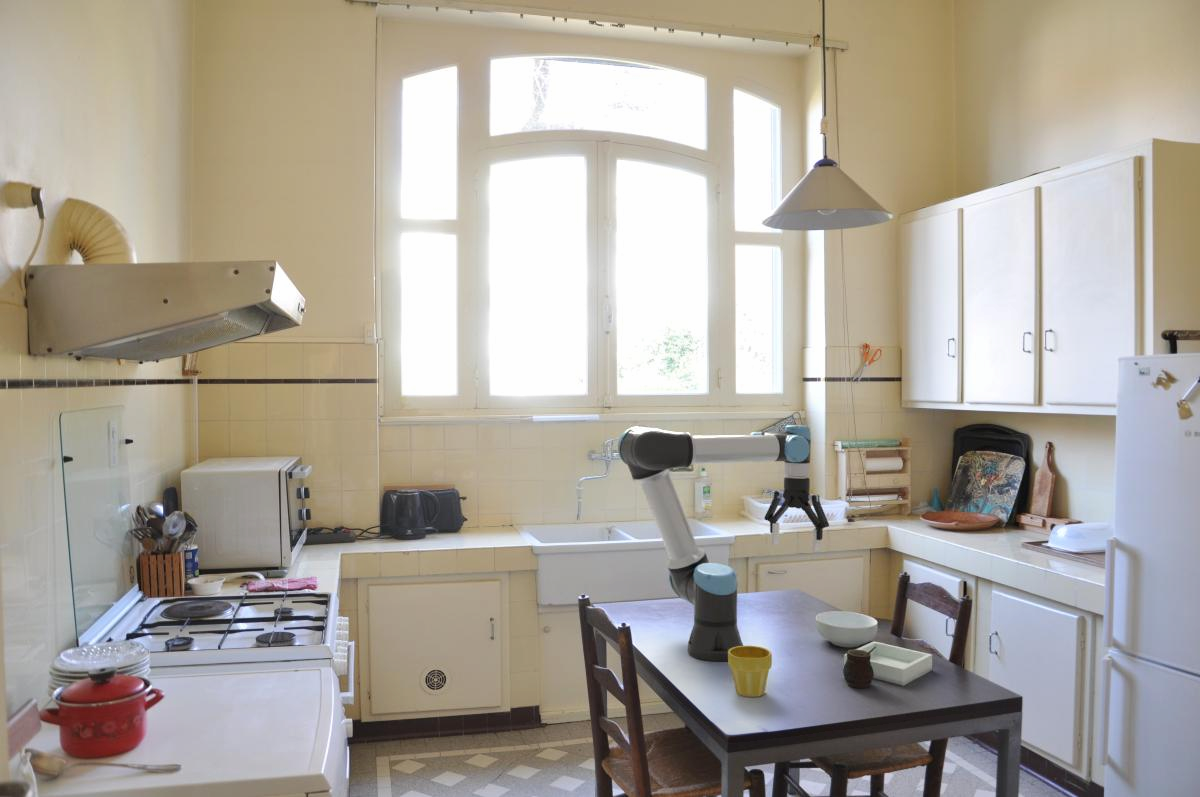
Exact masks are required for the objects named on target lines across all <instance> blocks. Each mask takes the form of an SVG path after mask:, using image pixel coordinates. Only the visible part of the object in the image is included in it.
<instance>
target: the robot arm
mask: <svg viewBox="0 0 1200 797" xmlns="http://www.w3.org/2000/svg"><path fill="white" fill-rule="evenodd" d="M811 435H812V434H811V428H810V427H809V425H804V424H803V425H802V424H800V425H799V424H787V425H786V426H785V427H784V430H783V431H754V432H753V431H752V432H750V434H734V435H733V434H732V435H731V434H730V435H729V434H728V435H727V434H726V435H725V434H723V435H692V434H691V433H689V432H687V431H685V432H683V431H681V432H680V431H672V430H665V429H662V428H657V427H649V426H646V425H635V426H632V427H630V428H628V429H626V430H625V431H624V432H623V433H622V434H621V435H620V437H619V440H618V443H617V453H618V456H619V458H620V460H622V462H623V463H624V464H625V465H626V466H627V468H628V469H629V472H630V474H631V477H632V479H633V480H632V481H636V482H638V483H640V486H641V488H642V490H643V494H644V495H645V499H646V502H647V503H648V506H649V508H650V511H651V514H652V516H653V518H654V521H655V525H656V527H657V529H658V531H659V533H660V537H661V540H662V542H663V544H664V547H665V549H666V552H667V554H668V557H669V558H668V561H667V562H666V566H667V569H668V581H669V585H670V588H671V590H672V591H673V592H674V593H675V594H676V595H677V596H678V597H680V598H681V599H683V600H685V601H687V602H688V603H690V604H692V605H693V613H694V615H693V616H694V618H693V627H692V630H691V632H690V635H689V639H688V642H687V653H688V655H690V656H691V657H693V658H695V659H699V660H703V661H710V662H727V661H728V651H729V649H731V648H733V647H737V646H744V644H743V642H742V638H741V635H740V631H739V630H740V629H739V627H738V583H739V582H738V577H737V576H738V574H737V572H736V570H734V568H732V567H731V566H729V565H726V564H721V563H718V562H710V561H709V559H708V555H707V553H706V551H705V550H704V549H703V548H700V547H699V546H698V544H697V541H696V540H695V537H694V534H693V532H692V529H691V526H690V524H689V520H688V518H687V516H686V514H685V511H684V509H683V506H682V503H681V501H680V498H679V495H678V493H677V490H676V488H675V484H674V482H673V480H672V478H671V475H670V472H669V471H670V470H671V469H683V468H684V469H687V468H690V467H691V466H692V465H695V464H727V463H731V464H732V463H757V462H758V463H760V462H762V463H763V462H764V463H765V462H783V464H784V466H783V468H784V469H783V475H784V476H785V477H784V478H783V489H784V491H781V490H775V491H774V493H773V499H772V501H771V503H770V505H769V508H768V510H766V514H765V515H764V518H763V519H764V520H765V521H767V522H769V524H770V525H769V526H770V527H769V532H770V534H772V535H771V536H772V538H771V545H772V546H777V545H779V544H780V522H778V521H779V519H780V518H781V517H782V516H783V515H784V513H786V511H787V510H788V509H789V508H792V509H793V508H795V509H801V510H802V511H804V513H805V514H806V516H807V517H808V519H809V520H810V522H811V523H812V524H813V526H814V528H813V530H812V533H813V534H812V552H818V551H820V550H821V549H820V546H821V544H820V543H821V542H820V541H821V540H822V539H823V530H824V529H825V528H828V527H830V523H829V521H828V519H827V516H826V513H825V511H824V510H823V506H822V504H821V502H820V501H821V499H820V495H819V494H811V495H810V484H811V481H810V480H811V479H810V478H809V477H810V476H811V475H810V474H811V473H810V472H811V443H812V439H811V438H812V437H811ZM782 499H784V501H783V502H782V504H781V506H780V507H778V506H779V504H780V502H781V501H782ZM809 501H810V502H811V503H812V506H811V504H810V503H809ZM812 507H813V509H814V510H813V509H812ZM778 508H779V509H778Z"/></svg>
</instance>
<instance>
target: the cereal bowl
mask: <svg viewBox="0 0 1200 797" xmlns="http://www.w3.org/2000/svg"><path fill="white" fill-rule="evenodd" d="M815 627H816V631H817V632H818V633H819V635H820V636H821V637H822V638H823V639H825V640H827V641H828V642H830V643H831V644H832V645H834V646H838V647H841V648H859V647H860V646H861V645H866V644H869V642H870V643H871V642H872V641H873V639H874V638H875V637H876V635H877V632H878V621H877V619H875V618H874V617H872V616H870V615H866V614H862V613H857V612H853V611H844V610H843V611H841V610H839V611H838V610H837V611H835V610H832V611H824V612H821V613H818V614H817V615H816V616H815Z"/></svg>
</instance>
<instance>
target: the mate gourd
mask: <svg viewBox="0 0 1200 797" xmlns="http://www.w3.org/2000/svg"><path fill="white" fill-rule="evenodd" d="M875 648H876V646H875V647H874V648H873V649H872V650H870V652H867V651H863V650H856V649H857V648H855V649H849V650H847V651H846V654H847V661H846V663H845V665H844V664H843V668H842V672H843V677H844V678H843V679H844V681H845V683H847V684H848V685H849V686H850V687H852V688H857V689H866V688H868V687H869V686H870V685H871V684H872V682H873V680H874V678H873V676H874V672H873V668H872V666H871V663H870V656H871V655H870V653H871V652H872V651H873V650H874V649H875Z"/></svg>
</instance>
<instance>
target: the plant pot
mask: <svg viewBox="0 0 1200 797" xmlns="http://www.w3.org/2000/svg"><path fill="white" fill-rule="evenodd" d="M772 655H773V654H772V652H771V651H770V650H769V649H768V648H765V647H762V646H758V645H757V646H756V645H743V646H737V647H733V648H731V649H729V651H728V662H727V663H728V667H729V668H730V669H731V673H732V678H733V682H734V688H735V692H736V693H737V694H738V695H739V696H742V697H748V698H757V697H761V696H763V695H764V694H765V691H766V687H767V680H768V675H769V671H770V669H771V668H772V665H773V664H772V663H773V662H772V661H773V656H772Z"/></svg>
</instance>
